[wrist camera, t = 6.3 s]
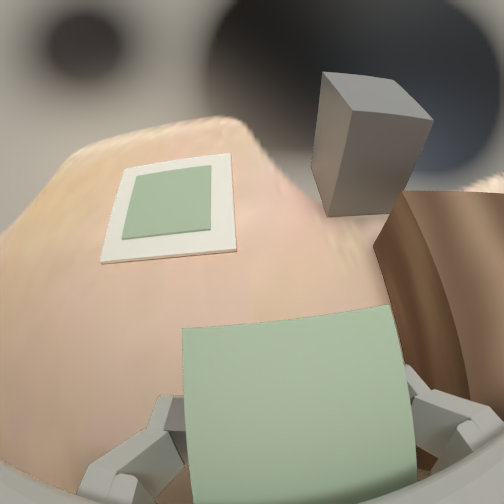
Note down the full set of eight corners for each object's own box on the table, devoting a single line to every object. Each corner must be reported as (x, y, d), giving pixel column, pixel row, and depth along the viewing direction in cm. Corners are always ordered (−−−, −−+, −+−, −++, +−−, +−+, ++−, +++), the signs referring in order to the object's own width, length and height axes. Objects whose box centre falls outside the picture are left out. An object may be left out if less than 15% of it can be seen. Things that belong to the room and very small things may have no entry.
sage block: (233, 466, 10) (197, 530, 3) (225, 372, 13) (182, 327, 6) (337, 453, 10) (417, 490, 4) (325, 361, 13) (389, 304, 6)
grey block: (327, 217, 18) (352, 110, 11) (310, 167, 20) (322, 71, 14) (392, 213, 18) (433, 120, 11) (368, 166, 21) (393, 80, 14)
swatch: (101, 264, 16) (98, 260, 16) (126, 171, 21) (124, 167, 21) (236, 251, 17) (235, 246, 16) (230, 155, 21) (230, 150, 21)
